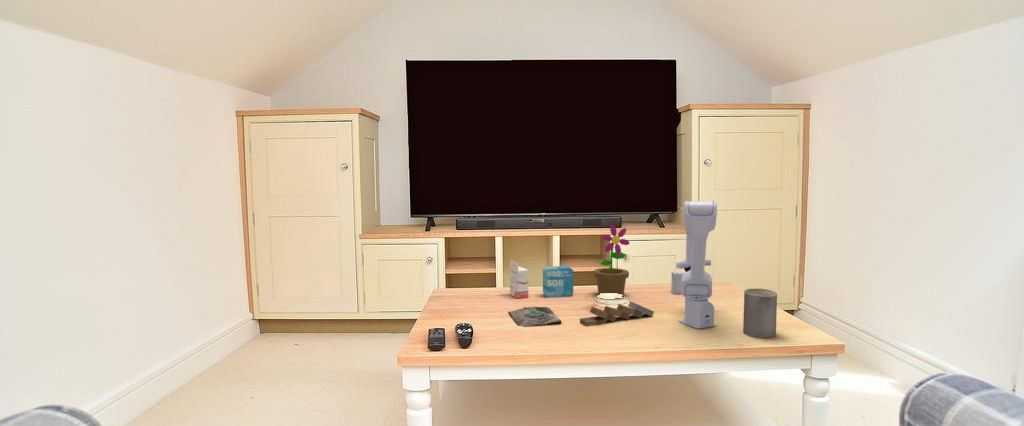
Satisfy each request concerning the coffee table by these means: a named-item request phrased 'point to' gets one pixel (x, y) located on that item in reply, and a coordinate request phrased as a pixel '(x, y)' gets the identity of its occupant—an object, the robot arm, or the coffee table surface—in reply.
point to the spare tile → (641, 309)
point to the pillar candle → (760, 313)
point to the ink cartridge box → (518, 281)
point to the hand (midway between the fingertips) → (693, 286)
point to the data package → (558, 281)
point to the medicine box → (676, 282)
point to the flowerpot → (611, 277)
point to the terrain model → (534, 317)
